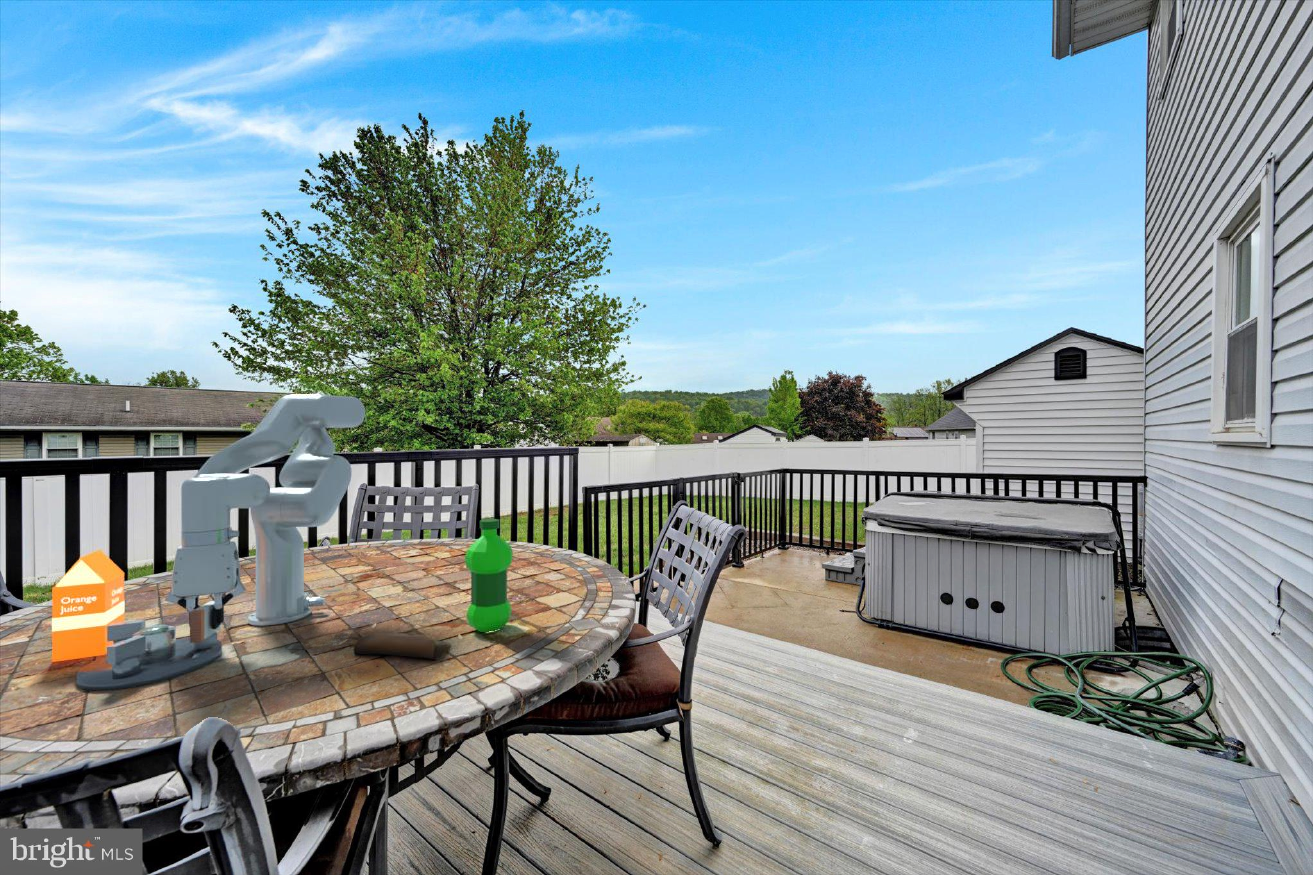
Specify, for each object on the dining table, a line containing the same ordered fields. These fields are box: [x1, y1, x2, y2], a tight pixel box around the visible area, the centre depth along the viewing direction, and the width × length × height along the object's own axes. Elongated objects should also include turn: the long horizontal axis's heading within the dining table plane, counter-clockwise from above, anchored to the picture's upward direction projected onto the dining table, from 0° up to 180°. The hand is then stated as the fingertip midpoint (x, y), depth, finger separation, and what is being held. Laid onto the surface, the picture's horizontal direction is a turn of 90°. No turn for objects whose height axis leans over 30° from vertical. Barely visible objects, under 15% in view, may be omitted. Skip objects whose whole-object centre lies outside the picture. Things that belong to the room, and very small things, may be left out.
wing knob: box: [189, 600, 221, 649], centre depth 106 cm, size 7×4×8 cm, turn 16°
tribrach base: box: [76, 619, 223, 692], centre depth 100 cm, size 20×20×8 cm
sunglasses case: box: [353, 632, 453, 661], centre depth 107 cm, size 18×7×7 cm, turn 81°
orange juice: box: [51, 549, 125, 663], centre depth 107 cm, size 8×9×20 cm
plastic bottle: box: [464, 518, 514, 632], centre depth 119 cm, size 10×10×25 cm
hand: (206, 627), depth 106 cm, fingers closed on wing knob, 2 cm apart
